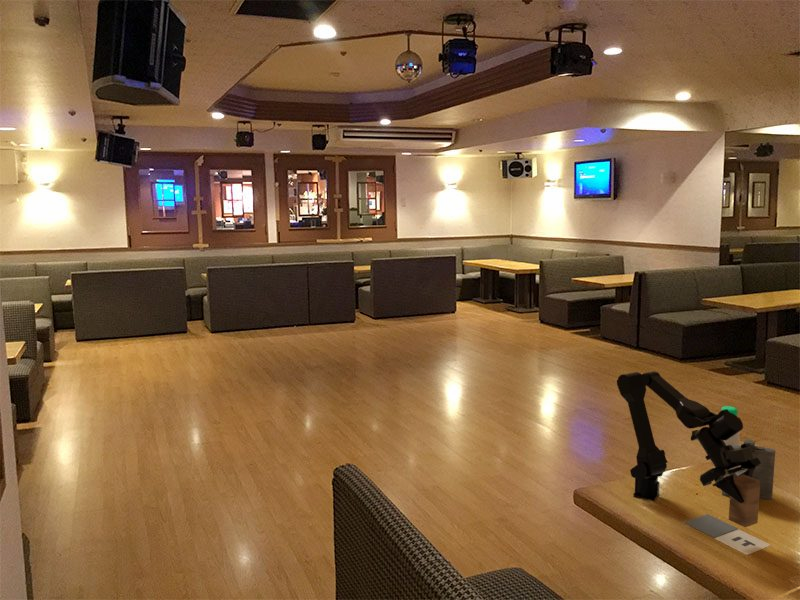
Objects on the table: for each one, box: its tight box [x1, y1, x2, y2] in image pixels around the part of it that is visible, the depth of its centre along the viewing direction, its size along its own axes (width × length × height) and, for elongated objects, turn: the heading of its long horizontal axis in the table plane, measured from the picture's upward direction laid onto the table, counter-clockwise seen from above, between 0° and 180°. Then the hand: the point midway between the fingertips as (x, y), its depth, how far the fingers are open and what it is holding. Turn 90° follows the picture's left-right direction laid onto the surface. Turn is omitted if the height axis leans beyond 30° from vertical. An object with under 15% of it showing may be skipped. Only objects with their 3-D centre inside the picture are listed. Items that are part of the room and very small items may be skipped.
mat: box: [683, 513, 739, 539], centre depth 190 cm, size 10×10×1 cm
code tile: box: [713, 528, 771, 556], centre depth 181 cm, size 10×10×1 cm
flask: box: [721, 439, 776, 501], centre depth 207 cm, size 4×14×18 cm, turn 75°
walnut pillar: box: [728, 474, 760, 528], centre depth 179 cm, size 5×5×12 cm
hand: (749, 500), depth 178 cm, fingers closed on walnut pillar, 5 cm apart
